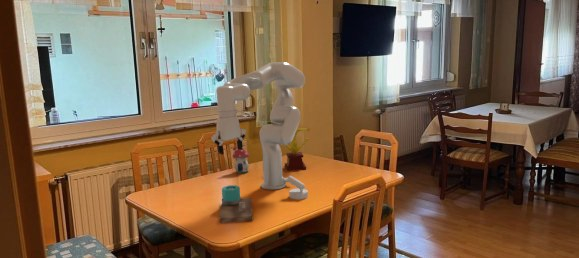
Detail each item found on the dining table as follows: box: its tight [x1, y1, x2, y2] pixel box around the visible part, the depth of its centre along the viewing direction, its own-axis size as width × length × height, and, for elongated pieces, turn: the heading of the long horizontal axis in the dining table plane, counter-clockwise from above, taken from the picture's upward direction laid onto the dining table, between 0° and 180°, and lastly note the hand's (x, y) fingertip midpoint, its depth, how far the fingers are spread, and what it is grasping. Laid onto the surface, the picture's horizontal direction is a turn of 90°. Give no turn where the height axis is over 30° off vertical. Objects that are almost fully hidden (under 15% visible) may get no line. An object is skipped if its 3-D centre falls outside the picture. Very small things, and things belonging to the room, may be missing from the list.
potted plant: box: [284, 126, 310, 172], centre depth 258 cm, size 14×16×30 cm
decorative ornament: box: [232, 146, 250, 175], centre depth 254 cm, size 9×6×15 cm
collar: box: [221, 184, 241, 202], centre depth 196 cm, size 7×7×5 cm
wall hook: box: [286, 175, 309, 200], centre depth 208 cm, size 9×10×10 cm
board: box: [219, 188, 254, 224], centre depth 191 cm, size 13×23×8 cm, turn 6°
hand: (230, 151), depth 200 cm, fingers open, 9 cm apart
